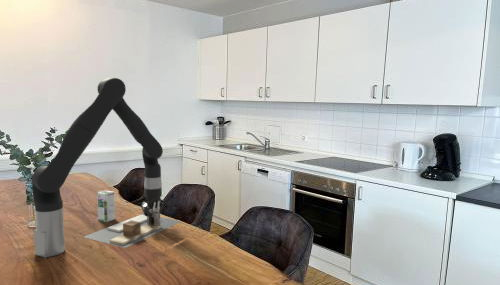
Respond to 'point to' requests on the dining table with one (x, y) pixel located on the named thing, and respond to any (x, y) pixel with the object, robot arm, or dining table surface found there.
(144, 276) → the dining table surface
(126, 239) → the birch strip
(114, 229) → the white long l-shaped piece
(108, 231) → the lane board
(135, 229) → the walnut block
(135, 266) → the dining table surface
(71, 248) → the dining table surface
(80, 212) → the dining table surface
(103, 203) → the syrup box
